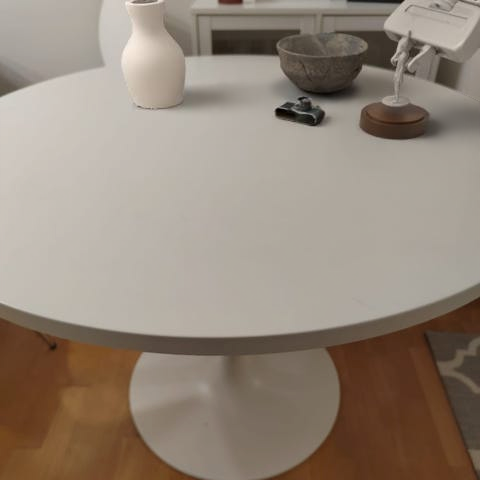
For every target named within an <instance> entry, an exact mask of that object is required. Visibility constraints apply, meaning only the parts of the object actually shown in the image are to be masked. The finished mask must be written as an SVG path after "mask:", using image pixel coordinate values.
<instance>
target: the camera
mask: <svg viewBox="0 0 480 480" xmlns="http://www.w3.org/2000/svg"><path fill="white" fill-rule="evenodd" d="M274 116H275V117H276V118H278V119H282V120H285V121H291V122H295V123H298V124H302V125H307V126H314V125H315V124H318V122H320V121H321V120H324V118H325V117H326V112H325V110H324V109H323V108H322V107H321V106H320V105H316V104H315V105H314V104H313V103H312V98H311V97H309V96H305V95H303V96H299V97H297V98H296V101H295V102H293V101H286V102H284V103H283V104H281V105H280V106H278V107H276V108H275V109H274Z"/></svg>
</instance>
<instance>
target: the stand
mask: <svg viewBox="0 0 480 480" xmlns="http://www.w3.org/2000/svg"><path fill="white" fill-rule="evenodd" d="M360 110H361V111H360V115H359V116H360V117H359V123H358V124H359V128H360V129H361V130H362V131H363V132H365V133H366V134H368V135H371V136H373V137H377V138H381V139H386V140H387V139H388V140H409V139H415V138H418V137H420V136H423V135H424V134H425V133H426V132H427V130H428V126H429V121H430V117H431V115H430V112H429V111H428V110H426V109H425V108H424V107H421V106H419V105H417V104H414V103H411V102H410V103H409V104H408V105H406V106H402V107H393V106H388V105H385V104H383V103H382V101H377V102H372V103H369V104H366V105H365V106H364V107H363V108H362V109H360Z"/></svg>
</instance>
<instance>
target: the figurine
mask: <svg viewBox="0 0 480 480" xmlns="http://www.w3.org/2000/svg"><path fill="white" fill-rule="evenodd" d="M410 33H411V30H408V33H407V39H406V43H405V42H402V43H401V44H400V49H399V52H402V54H401V55H400V56H399V57H398V59H397V61H398V63H397V67H396V68H395V71H394V75H393V78H392V79H393V80H392V83H394V88H393V89H394V95H386V96H384V97H383V98H382V99H381V102H382V103H383V104H385V105H388V106H393V107H402V106H406V105H408V104H409V103H410V104H411V100H410V99H409V98H408V97H406V96H402V95H400V93H401V86H402V85H401V84H403V81H404V74H405V73H404V72H406V71H407V70H406V69H405V67H404V64H405V63H406V62H407V61H408V59H409V58H410V50H409V51H407V48H408V42H409V37H410Z"/></svg>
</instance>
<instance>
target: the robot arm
mask: <svg viewBox="0 0 480 480" xmlns="http://www.w3.org/2000/svg"><path fill="white" fill-rule="evenodd" d="M382 30H383V31H384V33H385V34H386V36H387V37H388V39H389V40H391V41H394V42H396V43H397V48H396V51H395V53H394V55H393V56H392V57H391V58H390V63H391V64H392V66H394V67H396V68H397V63H398V61H397V59H398V57H399V56H400V55H401V54H402V52H399V49H400V44H401V43H402V42H405V43H406V39H407V33H408V30H411V33H410V37H409V42H408V48H407V51H409V52H410V50H411V49H412V48H415V49H417V50H421V52H419V53H418V54H417V55H416V56H414V57H411V56H409V57H408V61H407V62H406V63H405V64H404V67H405V69H406V71H407V72H409V73H413V74H414V73H415V71H416V70H418V68H419V67H420V66H422V65H424V64H426V63H428V62H429V61H431V60H432V59H433V58H434V56H438V57H441V58H443V59H446V60H450V61H452V62H456V63H458V64H462V63H464V62H466V61H467V62H468V60H470V59H471V58H472V57H473V56H474V55H475V54H476V53H477V51H479V49H480V0H403V1H402V2H401V4H399V6H397V8H396V9H395V10H394V11H393V12H392V13H391V14H390V15H389V16H388V18H386V20H385V21H384V24H383V29H382Z"/></svg>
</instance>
